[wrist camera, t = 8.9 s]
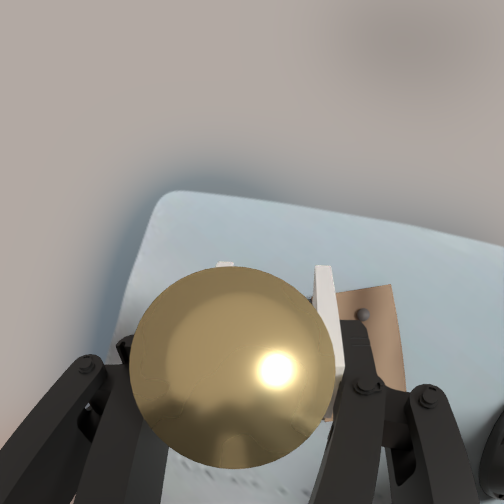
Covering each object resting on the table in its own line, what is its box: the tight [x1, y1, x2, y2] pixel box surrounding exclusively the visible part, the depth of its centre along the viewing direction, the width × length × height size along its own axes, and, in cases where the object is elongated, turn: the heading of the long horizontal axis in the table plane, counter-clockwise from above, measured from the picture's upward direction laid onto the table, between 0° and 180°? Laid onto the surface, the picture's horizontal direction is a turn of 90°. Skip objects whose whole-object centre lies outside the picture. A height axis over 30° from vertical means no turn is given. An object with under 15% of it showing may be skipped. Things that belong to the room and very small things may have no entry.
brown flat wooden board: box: [311, 284, 406, 422], centre depth 23 cm, size 23×12×4 cm, turn 95°
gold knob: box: [129, 266, 336, 469], centre depth 10 cm, size 4×4×12 cm
